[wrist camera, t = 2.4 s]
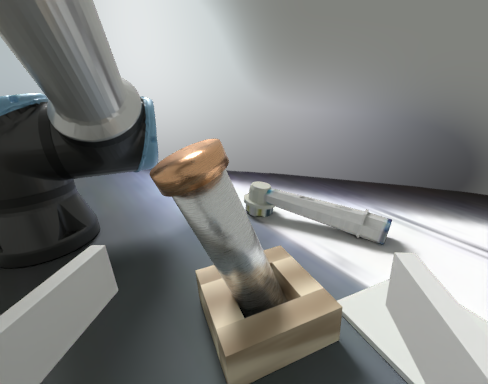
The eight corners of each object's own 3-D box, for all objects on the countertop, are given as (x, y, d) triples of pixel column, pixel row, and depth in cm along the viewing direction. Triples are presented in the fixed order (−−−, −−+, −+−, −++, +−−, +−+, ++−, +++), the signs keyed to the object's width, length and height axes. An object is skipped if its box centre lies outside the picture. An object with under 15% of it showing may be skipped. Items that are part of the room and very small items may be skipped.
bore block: (199, 299, 29) (195, 270, 27) (280, 272, 32) (280, 245, 31) (230, 392, 19) (225, 357, 18) (338, 340, 23) (342, 306, 21)
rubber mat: (333, 306, 26) (333, 302, 26) (406, 275, 30) (407, 271, 30) (445, 422, 17) (447, 416, 17) (532, 356, 20) (535, 351, 20)
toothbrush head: (389, 227, 34) (239, 179, 46) (375, 265, 36) (238, 211, 49) (394, 212, 38) (254, 172, 50) (381, 248, 40) (252, 201, 53)
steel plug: (235, 306, 27) (146, 167, 19) (274, 278, 29) (207, 135, 20) (257, 347, 23) (153, 186, 15) (303, 311, 24) (231, 143, 16)
